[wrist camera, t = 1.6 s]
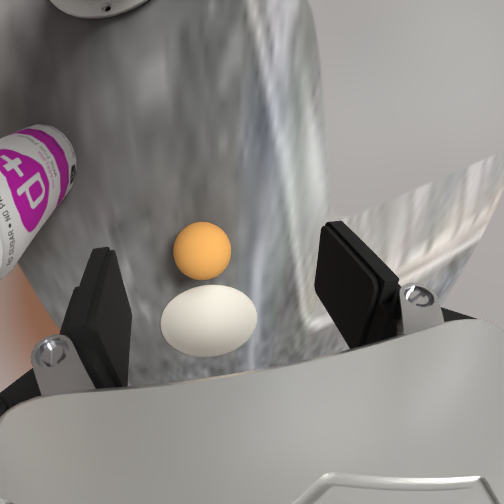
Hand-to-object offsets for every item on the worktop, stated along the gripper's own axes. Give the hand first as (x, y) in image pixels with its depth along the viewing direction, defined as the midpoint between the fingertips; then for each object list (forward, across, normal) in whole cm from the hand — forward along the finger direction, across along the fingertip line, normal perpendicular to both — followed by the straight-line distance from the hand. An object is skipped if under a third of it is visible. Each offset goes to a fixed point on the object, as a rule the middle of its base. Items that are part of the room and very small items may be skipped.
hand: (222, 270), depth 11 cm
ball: (+17, 0, +9) cm, 19 cm away
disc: (+20, 0, +21) cm, 29 cm away
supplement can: (+20, +15, -1) cm, 25 cm away
